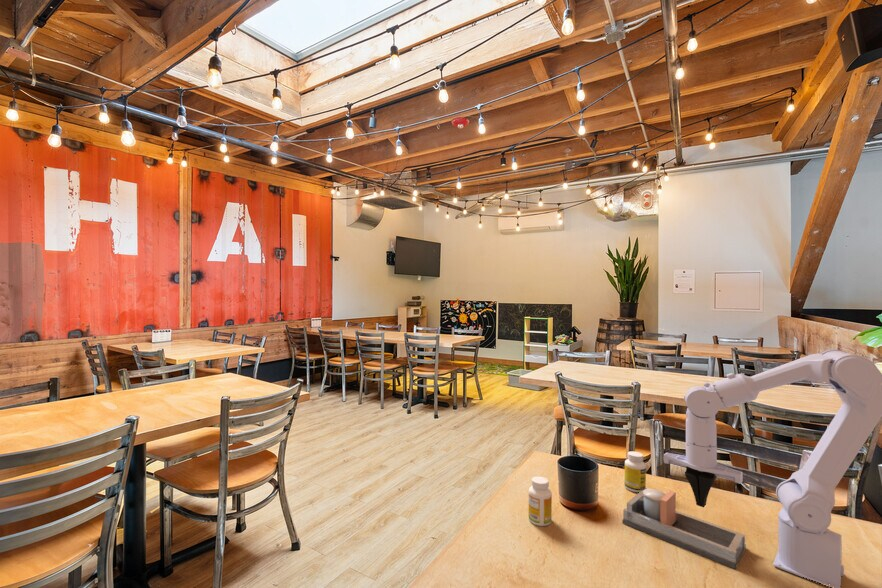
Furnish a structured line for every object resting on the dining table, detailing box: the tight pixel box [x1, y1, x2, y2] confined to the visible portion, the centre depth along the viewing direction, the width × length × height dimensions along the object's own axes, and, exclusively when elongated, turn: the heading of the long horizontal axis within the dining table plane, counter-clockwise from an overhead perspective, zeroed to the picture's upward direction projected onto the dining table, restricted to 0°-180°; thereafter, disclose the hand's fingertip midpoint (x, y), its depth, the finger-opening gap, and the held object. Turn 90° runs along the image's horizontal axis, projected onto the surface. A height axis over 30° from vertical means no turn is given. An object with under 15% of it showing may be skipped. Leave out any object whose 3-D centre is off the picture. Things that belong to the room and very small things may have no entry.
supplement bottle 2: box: [623, 450, 647, 493], centre depth 113 cm, size 5×5×10 cm
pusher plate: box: [660, 490, 677, 526], centre depth 93 cm, size 1×6×7 cm, turn 133°
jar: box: [643, 488, 667, 521], centre depth 95 cm, size 5×5×6 cm
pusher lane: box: [621, 491, 747, 570], centre depth 91 cm, size 22×10×5 cm, turn 43°
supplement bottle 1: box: [528, 476, 553, 527], centre depth 96 cm, size 5×5×10 cm
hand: (701, 504), depth 88 cm, fingers closed
